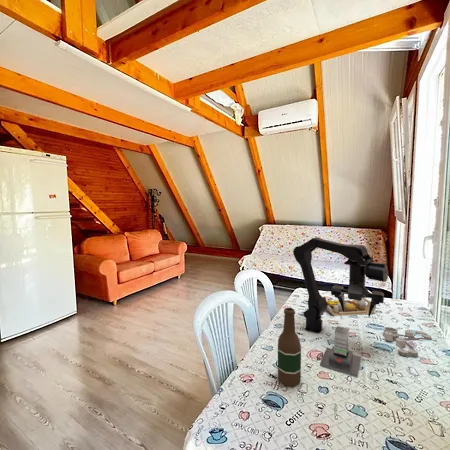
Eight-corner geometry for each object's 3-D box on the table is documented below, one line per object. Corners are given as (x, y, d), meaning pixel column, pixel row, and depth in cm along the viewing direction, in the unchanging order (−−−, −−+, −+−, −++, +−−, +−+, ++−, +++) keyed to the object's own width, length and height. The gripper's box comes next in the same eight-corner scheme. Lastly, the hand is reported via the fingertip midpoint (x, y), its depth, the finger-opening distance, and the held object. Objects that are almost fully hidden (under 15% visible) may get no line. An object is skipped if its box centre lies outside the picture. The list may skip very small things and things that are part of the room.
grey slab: (333, 353, 94) (334, 332, 93) (336, 346, 99) (336, 325, 98) (346, 357, 92) (346, 335, 91) (348, 349, 96) (348, 328, 96)
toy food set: (356, 302, 155) (356, 289, 154) (376, 314, 137) (377, 300, 136) (315, 303, 153) (315, 291, 152) (330, 317, 135) (330, 302, 134)
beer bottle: (297, 391, 81) (297, 316, 79) (273, 382, 85) (273, 310, 83) (303, 376, 88) (304, 307, 86) (281, 369, 92) (282, 303, 90)
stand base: (319, 365, 94) (320, 356, 93) (327, 350, 104) (327, 341, 103) (357, 377, 87) (357, 367, 87) (360, 359, 97) (361, 350, 97)
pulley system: (371, 347, 107) (415, 361, 96) (370, 336, 107) (414, 349, 96) (394, 328, 125) (433, 339, 113) (394, 319, 125) (433, 328, 113)
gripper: (328, 278, 103) (327, 316, 104) (383, 285, 93) (382, 327, 94) (333, 271, 113) (333, 307, 114) (384, 278, 103) (383, 316, 104)
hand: (356, 314), depth 106 cm, fingers open, 9 cm apart
